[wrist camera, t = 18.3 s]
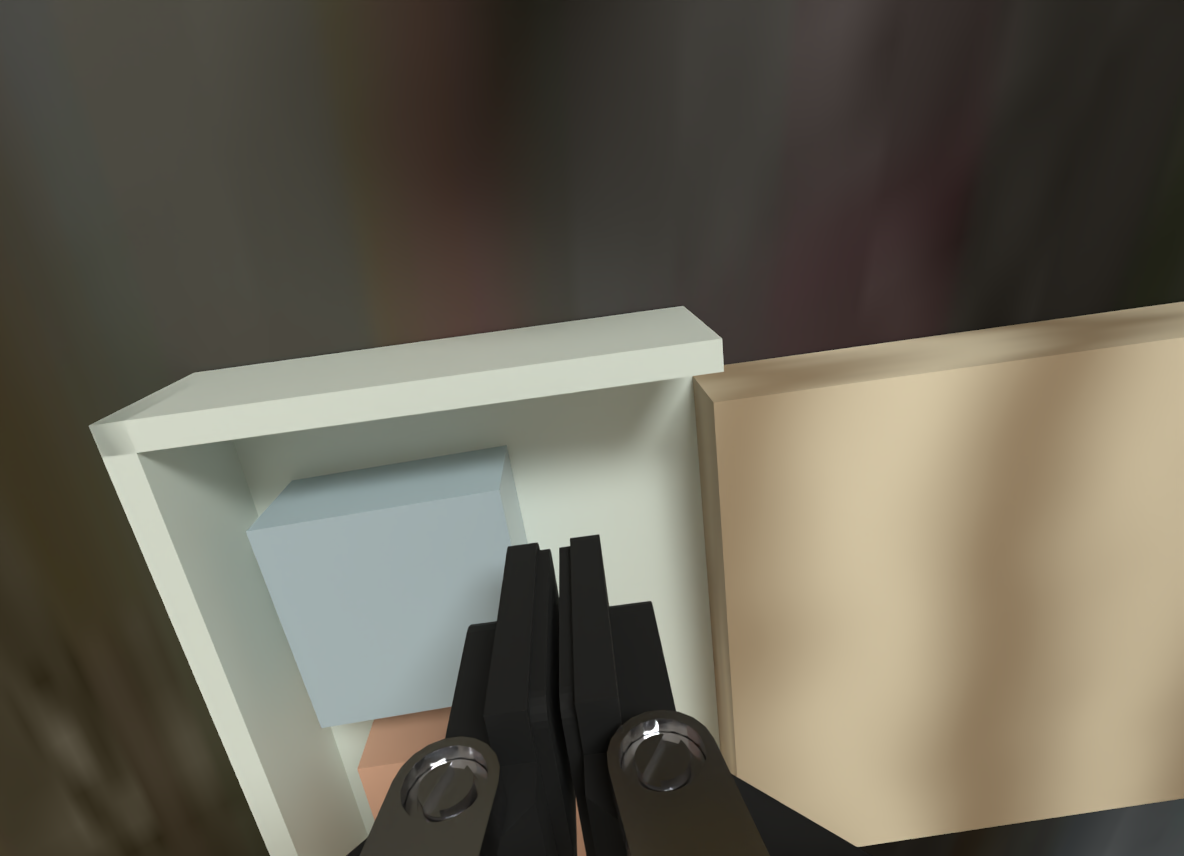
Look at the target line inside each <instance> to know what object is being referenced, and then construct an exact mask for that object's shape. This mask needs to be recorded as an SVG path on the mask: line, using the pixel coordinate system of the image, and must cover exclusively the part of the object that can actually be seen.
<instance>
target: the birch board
mask: <svg viewBox="0 0 1184 856" xmlns="http://www.w3.org/2000/svg"><path fill="white" fill-rule="evenodd" d="M693 389H694V402H695V416H696V429H697V443H698V457H699V470H700V484H701V497H702V511H703V524H704V538H705V551H706V565H707V578H708V592H709V605H710V619H711V633H712V646H713V660H714V673H715V687H716V700H717V714H718V727H719V741H720V752H721V754H722V756H723V758H724V760H725V762H726V764H727V766H728V768H729V770H730V773H731V774H733V775H735V776H736V777H738V778H740V779H742V780H743V781H745V782H747V783H748V784H750V785H752V786H754V787H755V788H757V789H759V790H760V791H762V792H764V793H766V794H767V795H769V796H771V797H772V798H774V799H776V800H777V801H779V802H781V803H783V804H784V805H786V806H788V807H789V808H791V809H793V810H795V811H796V812H798V813H800V814H801V815H803V816H805V817H807V818H808V819H810V820H812V821H813V822H815V823H817V824H819V825H820V826H822V827H824V828H825V829H827V830H829V831H831V832H832V833H834V834H836V835H837V836H839V837H841V838H843V839H844V840H846V841H848V842H849V843H851V844H853V845H855V846H856V847H861V846H867V845H874V844H881V843H887V842H894V841H901V840H908V839H914V838H921V837H928V836H934V835H941V834H948V833H954V832H961V831H968V830H975V829H981V828H988V827H995V826H1001V825H1008V824H1015V823H1021V822H1028V821H1035V820H1042V819H1048V818H1055V817H1062V816H1068V815H1075V814H1082V813H1088V812H1095V811H1102V810H1108V809H1115V808H1122V807H1129V806H1135V805H1142V804H1149V803H1155V802H1162V801H1169V800H1175V799H1182V798H1184V302H1177V303H1170V304H1163V305H1155V306H1148V307H1141V308H1134V309H1126V310H1119V311H1112V312H1105V313H1098V314H1090V315H1083V316H1076V317H1069V318H1061V319H1054V320H1047V321H1040V322H1032V323H1025V324H1018V325H1011V326H1003V327H996V328H989V329H982V330H974V331H967V332H960V333H953V334H946V335H938V336H931V337H924V338H917V339H909V340H902V341H895V342H888V343H880V344H873V345H866V346H859V347H851V348H844V349H837V350H830V351H822V352H815V353H808V354H801V355H793V356H786V357H779V358H772V359H765V360H757V361H750V362H743V363H736V364H728V365H724V372H718V373H711V374H704V375H697V376H693Z"/></svg>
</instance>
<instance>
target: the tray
mask: <svg viewBox="0 0 1184 856" xmlns="http://www.w3.org/2000/svg"><path fill="white" fill-rule="evenodd" d="M718 372H724V363H723V346H722V338H721V337H720V336H718V335H717V334H716V333H715V332H714V331H712V330H711V329H710V328H709V327H708V326H707V325H705V324H704V323H703V322H702V321H701V320H699V319H698V318H697V317H696V316H695V315H693V314H692V313H691V312H690V311H689V310H687V309H686V308H685V307H684V306H679V307H672V308H664V309H657V310H650V311H642V312H635V313H628V314H620V315H613V316H606V317H598V318H591V319H584V320H576V321H569V322H562V323H554V324H547V325H540V326H533V327H525V328H518V329H511V330H503V331H496V332H489V333H481V334H474V335H467V336H459V337H452V338H445V339H437V340H430V341H423V342H415V343H408V344H401V345H394V346H386V347H379V348H372V349H364V350H357V351H350V352H342V353H335V354H328V355H320V356H313V357H306V358H298V359H291V360H284V361H276V362H269V363H262V364H255V365H247V366H240V367H233V368H225V369H218V370H211V371H203V372H196V373H193V374H191V375H189V376H187V377H185V378H183V379H181V380H179V381H177V382H175V383H173V384H171V385H169V386H167V387H165V388H163V389H161V390H159V391H157V392H155V393H153V394H151V395H149V396H147V397H145V398H143V399H141V400H139V401H137V402H135V403H133V404H131V405H129V406H127V407H125V408H123V409H121V410H119V411H117V412H115V413H113V414H111V415H109V416H107V417H105V418H103V419H101V420H99V421H97V422H95V423H93V424H91V425H89V428H90V430H91V432H92V435H93V437H94V440H95V442H96V444H97V447H98V449H99V451H100V454H101V456H102V459H103V461H104V463H105V466H106V468H107V470H108V473H109V475H110V477H111V480H112V482H113V485H114V487H115V489H116V492H117V494H118V496H119V499H120V501H121V504H122V506H123V508H124V511H125V513H126V515H127V518H128V520H129V522H130V525H131V527H132V530H133V532H134V534H135V537H136V539H137V541H138V544H139V546H140V549H141V551H142V553H143V556H144V558H145V560H146V563H147V565H148V567H149V570H150V572H151V575H152V577H153V579H154V582H155V584H156V586H157V589H158V591H159V594H160V596H161V598H162V601H163V603H164V605H165V608H166V610H167V612H168V615H169V617H170V620H171V622H172V624H173V627H174V629H175V631H176V634H177V636H178V639H179V641H180V643H181V646H182V648H183V650H184V653H185V655H186V657H187V660H188V662H189V665H190V667H191V669H192V672H193V674H194V676H195V679H196V681H197V684H198V686H199V688H200V691H201V693H202V695H203V698H204V700H205V702H206V705H207V707H208V710H209V712H210V714H211V717H212V719H213V721H214V724H215V726H216V729H217V731H218V733H219V736H220V738H221V740H222V743H223V745H224V747H225V750H226V752H227V755H228V757H229V759H230V762H231V764H232V766H233V769H234V771H235V774H236V776H237V778H238V781H239V783H240V785H241V788H242V790H243V792H244V795H245V797H246V800H247V802H248V804H249V807H250V809H251V811H252V814H253V816H254V818H255V821H256V823H257V826H258V828H259V830H260V833H261V835H262V837H263V840H264V842H265V845H266V847H267V849H268V852H269V854H270V856H346V855H347V854H349V853H350V852H351V851H352V850H353V849H354V848H356V847H357V846H358V845H359V844H360V843H361V842H363V841H364V840H365V839H366V838H367V837H368V835H369V833H370V831H371V828H372V826H373V824H374V822H375V820H374V818H373V815H372V812H371V809H370V806H369V803H368V800H367V797H366V794H365V791H364V788H363V785H362V782H361V779H360V776H359V773H358V770H357V768H358V765H359V762H360V759H361V757H362V754H363V751H364V748H365V745H366V742H367V739H368V736H369V733H370V730H371V727H372V724H373V721H374V720H368V721H362V722H356V723H350V724H344V725H338V726H332V727H326V728H321V726H320V723H319V721H318V718H317V715H316V713H315V710H314V708H313V705H312V702H311V700H310V697H309V695H308V692H307V689H306V687H305V684H304V682H303V679H302V676H301V674H300V671H299V669H298V666H297V663H296V661H295V658H294V656H293V653H292V650H291V648H290V645H289V643H288V640H287V637H286V635H285V632H284V630H283V627H282V624H281V622H280V619H279V617H278V614H277V611H276V609H275V606H274V604H273V601H272V598H271V596H270V593H269V591H268V588H267V585H266V583H265V580H264V578H263V575H262V572H261V570H260V567H259V565H258V562H257V559H256V557H255V554H254V552H253V549H252V546H251V544H250V541H249V539H248V536H247V533H246V531H247V530H248V529H249V527H250V526H251V525H252V524H253V523H254V522H255V521H256V520H257V519H258V517H259V516H260V515H261V514H262V513H263V512H264V511H265V510H266V509H267V508H268V506H269V505H270V504H271V503H272V502H273V501H274V500H275V499H276V498H277V496H278V495H279V494H280V493H281V492H282V491H283V490H284V489H285V488H286V486H287V485H288V484H289V483H290V482H291V481H292V480H297V479H303V478H309V477H315V476H322V475H328V474H334V473H340V472H346V471H352V470H358V469H364V468H370V467H377V466H383V465H389V464H395V463H401V462H407V461H413V460H419V459H425V458H431V457H438V456H444V455H450V454H456V453H462V452H468V451H474V450H480V449H486V448H492V447H499V446H505V445H507V448H508V452H509V457H510V462H511V466H512V471H513V476H514V480H515V485H516V490H517V494H518V499H519V504H520V509H521V513H522V518H523V523H524V527H525V532H526V537H527V541H528V544H529V543H537V542H538V544H539V547H540V550H544V549H550V550H551V553H552V559H553V565H554V570H555V576H556V582H557V588H558V594H559V548H560V547H567V546H570V538H575V537H582V536H590V535H597V534H599V535H600V542H601V549H602V557H603V564H604V571H605V579H606V586H607V593H608V601H609V606H615V605H623V604H630V603H638V602H645V601H651V602H652V605H653V609H654V613H655V618H656V622H657V627H658V631H659V636H660V640H661V645H662V649H663V654H664V658H665V663H666V667H667V672H668V676H669V681H670V685H671V690H672V694H673V699H674V704H675V708H676V711H678V712H681V713H684V714H686V715H689V716H691V717H694V718H695V719H696V720H698V721H699V722H700V723H702V724H703V725H704V726H706V728H707V729H708V730H709V732H710V733H711V735H712V736H713V737H714V739H715V741H716V743H717V745H718V747H719V749H720V741H719V727H718V714H717V700H716V687H715V673H714V660H713V646H712V633H711V619H710V605H709V592H708V578H707V565H706V551H705V538H704V524H703V511H702V497H701V484H700V470H699V457H698V443H697V429H696V416H695V402H694V389H693V376H697V375H704V374H711V373H718Z"/></svg>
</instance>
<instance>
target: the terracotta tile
mask: <svg viewBox="0 0 1184 856" xmlns="http://www.w3.org/2000/svg"><path fill="white" fill-rule="evenodd" d="M450 711H451V707H446V708H440V709H434V710H428V711H422V712H416V713H410V714H404V715H398V716H392V717H386V718H380V719H374V721H373V724H372V727H371V730H370V733H369V736H368V739H367V742H366V745H365V748H364V751H363V754H362V757H361V759H360V762H359V765H358V768H357V770H358V773H359V776H360V779H361V782H362V785H363V788H364V791H365V794H366V797H367V800H368V803H369V806H370V809H371V812H372V815H373V818H374V820H375V819H376V817H377V815H378V813H379V810H380V808H381V806H382V803H383V801H384V799H385V797H386V794H387V792H388V790H389V788H390V785H391V783H392V781H393V779H394V778H395V776H396V774H397V773H398V771H399V770H400V768H401V767H402V766H403V765H404V764H405V763H406V762H407V761H408V760H409V759H410V758H411V757H412V755H413V754H415V753H417V752H418V751H420V750H421V749H423V748H424V747H426V746H427V745H429V744H432V743H434V742H437V741H440V740H442V739H445V736H446V731H447V726H448V721H449V716H450ZM576 826H577V856H586V851H585V845H584V840H583V834H582V829H581V823H580V818H579V812H578V807H577V801H576Z"/></svg>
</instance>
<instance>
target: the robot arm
mask: <svg viewBox="0 0 1184 856" xmlns="http://www.w3.org/2000/svg"><path fill="white" fill-rule="evenodd" d="M576 801H577V807H578V812H579V818H580V823H581V829H582V834H583V840H584V845H585V851H586V856H872V855H870V854H868V853H867V852H865V851H863V850H861V849H860V848H858V847H856V846H855V845H853V844H851V843H849V842H848V841H846V840H844V839H843V838H841V837H839V836H837V835H836V834H834V833H832V832H831V831H829V830H827V829H825V828H824V827H822V826H820V825H819V824H817V823H815V822H813V821H812V820H810V819H808V818H807V817H805V816H803V815H801V814H800V813H798V812H796V811H795V810H793V809H791V808H789V807H788V806H786V805H784V804H783V803H781V802H779V801H777V800H776V799H774V798H772V797H771V796H769V795H767V794H766V793H764V792H762V791H760V790H759V789H757V788H755V787H754V786H752V785H750V784H748V783H747V782H745V781H743V780H742V779H740V778H738V777H736V776H735V775H733V774H731V773H730V770H729V768H728V766H727V764H726V762H725V760H724V758H723V756H722V754H721V752H720V749H719V747H718V745H717V743H716V741H715V739H714V737H713V736H712V735H711V733H710V732H709V730H708V729H707V728H706V726H704V725H703V724H702V723H700V722H699V721H698V720H696V719H695V718H694V717H691V716H689V715H686V714H684V713H681V712H678V711H676V708H675V704H674V699H673V694H672V690H671V685H670V681H669V676H668V672H667V667H666V663H665V658H664V654H663V649H662V645H661V640H660V636H659V631H658V627H657V622H656V618H655V613H654V609H653V605H652V602H651V601H645V602H638V603H630V604H623V605H615V606H609V601H608V593H607V586H606V579H605V571H604V564H603V557H602V549H601V542H600V535H599V534H597V535H590V536H582V537H575V538H570V546H567V547H560V548H559V594H558V588H557V582H556V576H555V570H554V565H553V559H552V553H551V550H550V549H544V550H540V547H539V544H538V542H537V543H529V544H522V545H514V546H508V547H507V553H506V560H505V567H504V574H503V581H502V588H501V595H500V602H499V609H498V616H497V621H494V622H486V623H479V624H471V625H470V626H469V627H468V630H467V633H466V638H465V643H464V648H463V653H462V658H461V663H460V668H459V672H458V677H457V682H456V687H455V692H454V697H453V702H452V707H451V711H450V716H449V721H448V726H447V731H446V736H445V739H442V740H440V741H437V742H434V743H432V744H429V745H427V746H426V747H424V748H423V749H421V750H420V751H418V752H417V753H415V754H413V755H412V757H411V758H410V759H409V760H408V761H407V762H406V763H405V764H404V765H403V766H402V767H401V768H400V770H399V771H398V773H397V774H396V776H395V778H394V779H393V781H392V783H391V785H390V788H389V790H388V792H387V794H386V797H385V799H384V801H383V803H382V806H381V808H380V810H379V813H378V815H377V817H376V819H375V822H374V824H373V826H372V828H371V831H370V833H369V835H368V837H367V838H366V839H365V840H364V841H363V842H361V843H360V844H359V845H358V846H357V847H356V848H354V849H353V850H352V851H351V852H350V853H349V854H347V855H346V856H577V826H576Z"/></svg>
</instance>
